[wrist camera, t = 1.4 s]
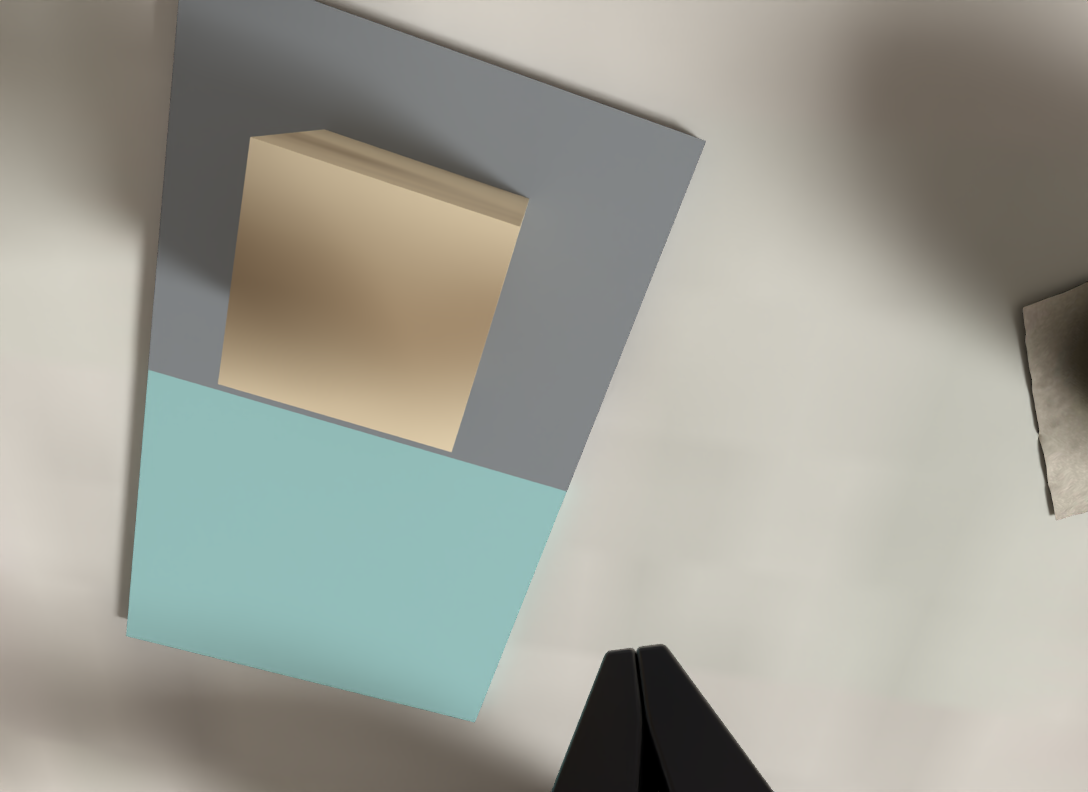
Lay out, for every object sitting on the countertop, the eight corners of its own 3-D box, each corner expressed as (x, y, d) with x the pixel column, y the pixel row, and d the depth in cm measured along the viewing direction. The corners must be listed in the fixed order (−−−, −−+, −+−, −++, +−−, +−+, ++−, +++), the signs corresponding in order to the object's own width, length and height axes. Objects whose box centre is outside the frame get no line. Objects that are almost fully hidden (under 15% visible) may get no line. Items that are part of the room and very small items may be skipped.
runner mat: (476, 708, 24) (474, 722, 23) (136, 623, 22) (125, 636, 22) (701, 139, 16) (705, 141, 15) (196, -42, 14) (182, -47, 14)
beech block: (473, 380, 18) (451, 452, 14) (290, 325, 17) (217, 383, 14) (529, 198, 16) (520, 226, 12) (324, 129, 15) (250, 137, 12)
